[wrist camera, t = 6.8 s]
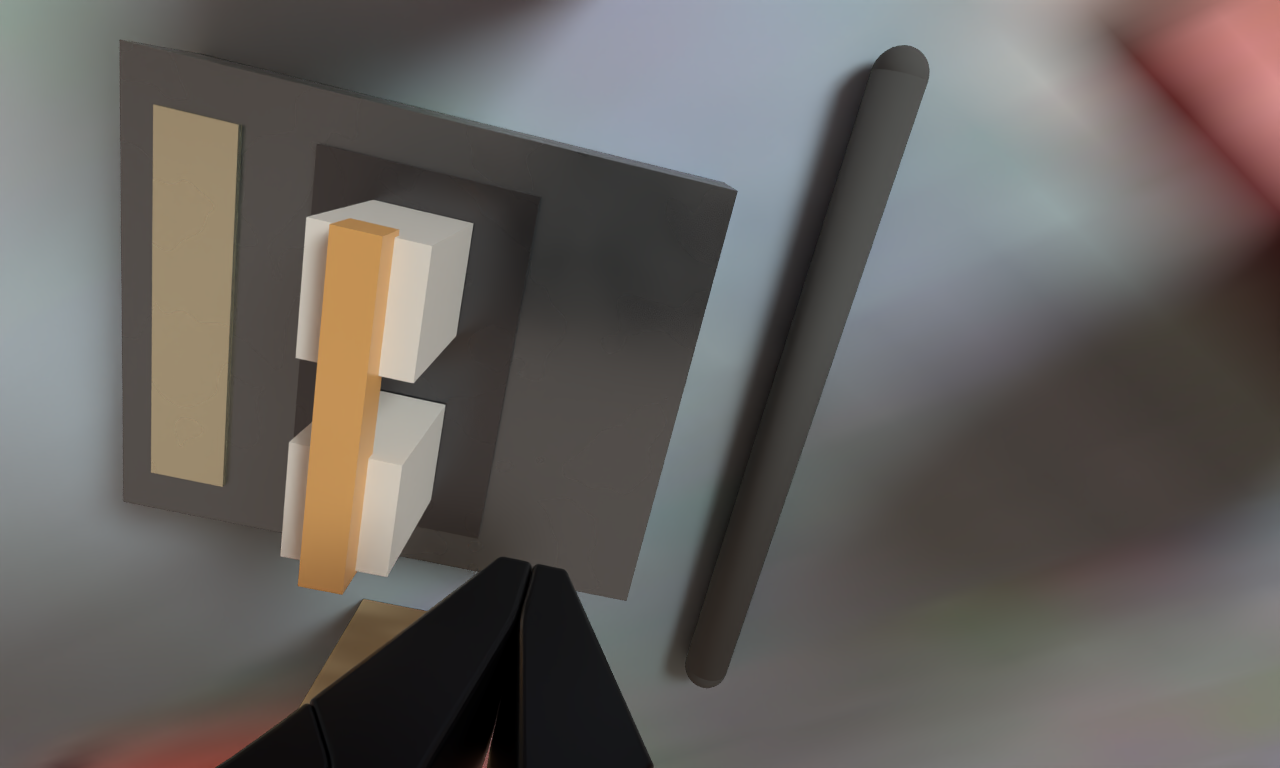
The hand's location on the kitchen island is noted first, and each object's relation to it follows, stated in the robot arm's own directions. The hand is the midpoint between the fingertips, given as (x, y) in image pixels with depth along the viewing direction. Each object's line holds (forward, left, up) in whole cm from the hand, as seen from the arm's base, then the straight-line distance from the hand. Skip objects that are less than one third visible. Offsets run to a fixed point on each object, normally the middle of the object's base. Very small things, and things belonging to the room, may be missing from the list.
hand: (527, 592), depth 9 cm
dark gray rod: (-5, 0, -10) cm, 11 cm away
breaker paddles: (+4, 0, -7) cm, 8 cm away
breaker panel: (+4, 0, -10) cm, 10 cm away
